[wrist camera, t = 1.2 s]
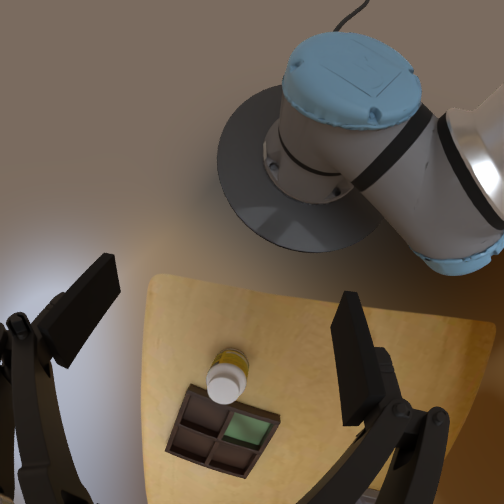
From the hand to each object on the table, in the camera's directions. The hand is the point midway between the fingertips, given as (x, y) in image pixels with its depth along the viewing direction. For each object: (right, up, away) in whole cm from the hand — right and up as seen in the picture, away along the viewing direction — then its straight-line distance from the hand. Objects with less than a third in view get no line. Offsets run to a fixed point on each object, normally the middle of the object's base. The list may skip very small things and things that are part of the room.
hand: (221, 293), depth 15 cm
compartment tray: (-4, -29, +25) cm, 39 cm away
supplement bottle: (-2, -15, +26) cm, 30 cm away
